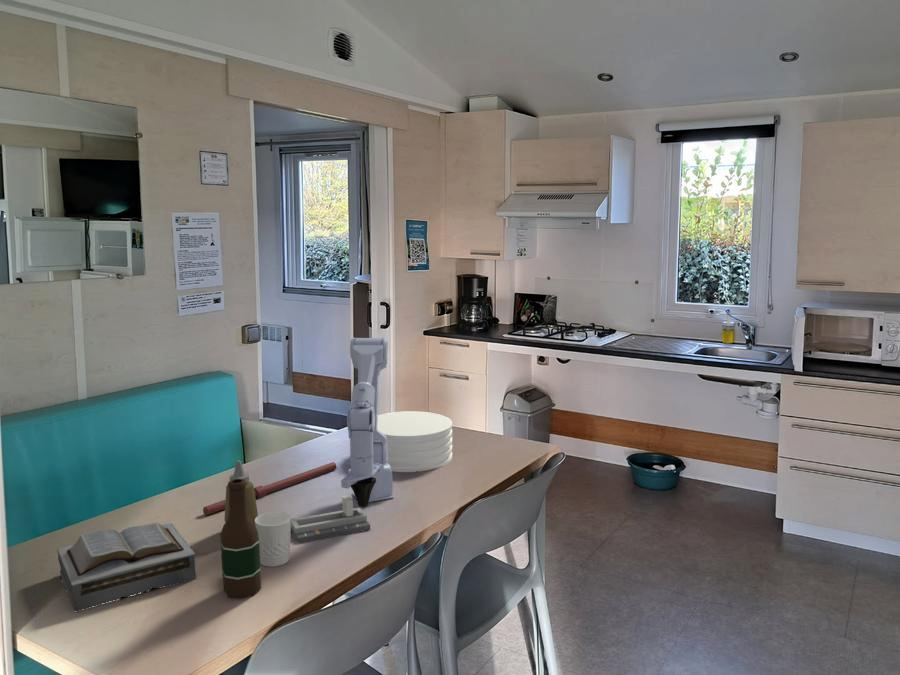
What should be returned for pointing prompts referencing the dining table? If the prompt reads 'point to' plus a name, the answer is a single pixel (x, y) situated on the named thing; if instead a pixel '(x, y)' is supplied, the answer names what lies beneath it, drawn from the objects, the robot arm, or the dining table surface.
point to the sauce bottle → (240, 547)
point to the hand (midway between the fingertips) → (362, 506)
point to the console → (328, 525)
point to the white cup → (274, 538)
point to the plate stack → (416, 440)
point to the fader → (347, 507)
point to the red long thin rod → (275, 486)
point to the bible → (124, 563)
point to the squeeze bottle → (249, 490)
